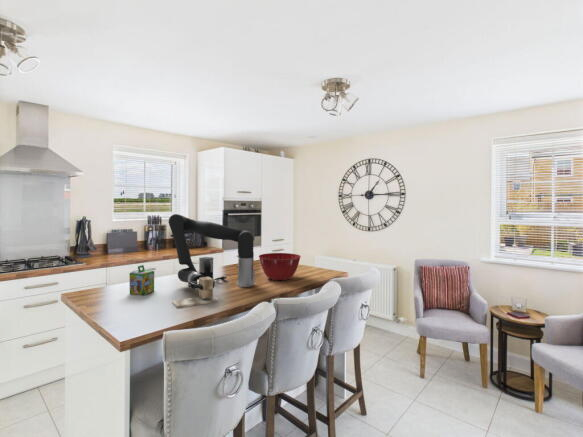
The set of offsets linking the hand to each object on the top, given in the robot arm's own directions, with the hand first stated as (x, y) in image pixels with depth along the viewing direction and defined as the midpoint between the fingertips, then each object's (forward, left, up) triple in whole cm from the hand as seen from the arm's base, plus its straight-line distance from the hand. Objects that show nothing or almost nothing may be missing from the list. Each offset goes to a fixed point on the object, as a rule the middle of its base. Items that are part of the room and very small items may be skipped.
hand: (207, 287), depth 154 cm
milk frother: (-18, -39, -8) cm, 43 cm away
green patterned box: (+24, -34, -8) cm, 42 cm away
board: (+5, -3, -7) cm, 9 cm away
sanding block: (0, -3, -6) cm, 7 cm away
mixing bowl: (-59, -24, -8) cm, 64 cm away
